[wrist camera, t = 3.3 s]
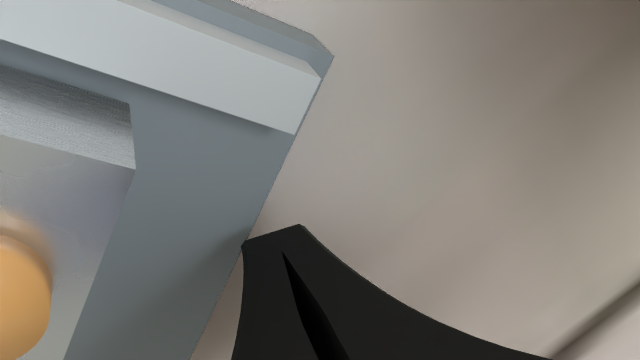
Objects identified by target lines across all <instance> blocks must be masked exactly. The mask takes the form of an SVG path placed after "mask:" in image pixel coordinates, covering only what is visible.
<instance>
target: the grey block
mask: <svg viewBox="0 0 640 360" xmlns="http://www.w3.org/2000/svg"><path fill="white" fill-rule="evenodd" d="M135 171H136V164H135V155H134V145H133V135H132V125H131V115H130V106H129V103H126V102H122V101H119V100H116V99H113V98H110V97H106V96H103V95H100V94H97V93H93V92H90V91H87V90H84V89H81V88H77V87H74V86H71V85H68V84H64V83H61V82H58V81H55V80H52V79H48V78H45V77H42V76H39V75H35V74H32V73H29V72H26V71H22V70H19V69H16V68H13V67H10V66H6V65H3V64H0V360H63V359H64V356H65V353H66V351H67V348H68V346H69V343H70V340H71V338H72V335H73V333H74V330H75V327H76V325H77V322H78V320H79V317H80V314H81V312H82V309H83V307H84V304H85V301H86V299H87V296H88V294H89V291H90V288H91V286H92V283H93V281H94V278H95V275H96V273H97V270H98V268H99V265H100V262H101V260H102V257H103V255H104V252H105V249H106V247H107V244H108V242H109V239H110V236H111V234H112V231H113V229H114V226H115V223H116V221H117V218H118V216H119V213H120V210H121V208H122V205H123V203H124V200H125V197H126V195H127V192H128V190H129V187H130V184H131V182H132V179H133V177H134V174H135Z"/></svg>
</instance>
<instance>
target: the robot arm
mask: <svg viewBox="0 0 640 360" xmlns="http://www.w3.org/2000/svg"><path fill="white" fill-rule="evenodd" d="M241 250H242V254H243V265H244V279H243V294H242V305H241V313H240V319H239V324H238V330H237V336H236V341H235V346H234V350H233V354H232V358H231V360H551V359H548V358H544V357H540V356H536V355H532V354H528V353H525V352H521V351H517V350H513V349H510V348H506V347H503V346H500V345H497V344H494V343H491V342H488V341H485V340H482V339H479V338H477V337H474V336H471V335H469V334H467V333H464V332H462V331H459V330H457V329H455V328H452V327H450V326H447V325H445V324H443V323H440V322H438V321H436V320H434V319H432V318H430V317H428V316H426V315H424V314H422V313H420V312H418V311H416V310H415V309H413V308H411V307H409V306H407V305H405V304H404V303H402V302H400V301H399V300H397V299H395V298H394V297H392V296H390V295H389V294H387V293H386V292H384V291H383V290H381V289H380V288H378V287H377V286H375V285H374V284H372V283H371V282H369V281H368V280H366V279H365V278H364V277H362V276H361V275H359V274H358V273H357V272H355V271H354V270H353V269H352V268H350V267H349V266H348V265H346V264H345V263H344V262H342V261H341V260H340V259H339V258H338V257H336V256H335V255H334V254H333V253H332V252H331V251H329V250H328V249H327V248H326V247H325V246H324V245H323V244H321V243H320V242H319V241H318V240H317V239H316V238H315V237H314V236H313V235H312V234H311V233H310V232H309V231H308V230H307V229H306V228H305V227H304V226H302V225H300V224H297V225H294V226H291V227H287V228H284V229H281V230H278V231H274V232H271V233H268V234H265V235H262V236H258V237H255V238H252V239H249V240H245V241H244V242H243V244H242V245H241Z"/></svg>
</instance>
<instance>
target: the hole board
mask: <svg viewBox="0 0 640 360" xmlns="http://www.w3.org/2000/svg"><path fill="white" fill-rule="evenodd" d="M333 58H334V56H333V55H332V54H331V53H330V52H329V51H328V50H327V49H326V48H325V47H324V46H323V45H322V44H321V43H320V42H319V41H318V40H317V39H316V38H315V37H314V36H313V35H312V34H309V33H307V32H305V31H302V30H300V29H297V28H295V27H293V26H290V25H288V24H285V23H283V22H281V21H278V20H276V19H273V18H271V17H269V16H266V15H264V14H261V13H259V12H257V11H254V10H252V9H249V8H247V7H245V6H242V5H240V4H237V3H235V2H233V1H230V0H0V64H3V65H6V66H10V67H13V68H16V69H19V70H22V71H26V72H29V73H32V74H35V75H39V76H42V77H45V78H48V79H52V80H55V81H58V82H61V83H64V84H68V85H71V86H74V87H77V88H81V89H84V90H87V91H90V92H93V93H97V94H100V95H103V96H106V97H110V98H113V99H116V100H119V101H122V102H126V103H129V106H130V115H131V125H132V135H133V145H134V155H135V164H136V171H135V174H134V177H133V179H132V182H131V184H130V187H129V190H128V192H127V195H126V197H125V200H124V203H123V205H122V208H121V210H120V213H119V216H118V218H117V221H116V223H115V226H114V229H113V231H112V234H111V236H110V239H109V242H108V244H107V247H106V249H105V252H104V255H103V257H102V260H101V262H100V265H99V268H98V270H97V273H96V275H95V278H94V281H93V283H92V286H91V288H90V291H89V294H88V296H87V299H86V301H85V304H84V307H83V309H82V312H81V314H80V317H79V320H78V322H77V325H76V327H75V330H74V333H73V335H72V338H71V340H70V343H69V346H68V348H67V351H66V353H65V356H64V359H63V360H189V359H190V357H191V355H192V353H193V351H194V349H195V347H196V345H197V343H198V340H199V338H200V336H201V334H202V332H203V330H204V328H205V326H206V324H207V322H208V320H209V317H210V315H211V313H212V311H213V309H214V307H215V305H216V303H217V301H218V299H219V296H220V294H221V292H222V290H223V288H224V286H225V284H226V282H227V280H228V278H229V276H230V273H231V271H232V269H233V267H234V265H235V263H236V261H237V259H238V257H239V255H240V253H241V245H242V244H243V242H244V241H245V240H247V238H248V236H249V234H250V232H251V229H252V227H253V225H254V223H255V221H256V219H257V217H258V215H259V213H260V211H261V209H262V206H263V204H264V202H265V200H266V198H267V196H268V194H269V192H270V190H271V188H272V185H273V183H274V181H275V179H276V177H277V175H278V173H279V171H280V169H281V167H282V165H283V162H284V160H285V158H286V156H287V154H288V152H289V150H290V148H291V146H292V144H293V141H294V139H295V137H296V135H297V133H298V131H299V129H300V127H301V125H302V123H303V121H304V118H305V116H306V114H307V112H308V110H309V108H310V106H311V104H312V102H313V100H314V98H315V95H316V93H317V91H318V89H319V87H320V85H321V83H322V81H323V79H324V77H325V74H326V72H327V70H328V68H329V66H330V64H331V62H332V60H333Z"/></svg>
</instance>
